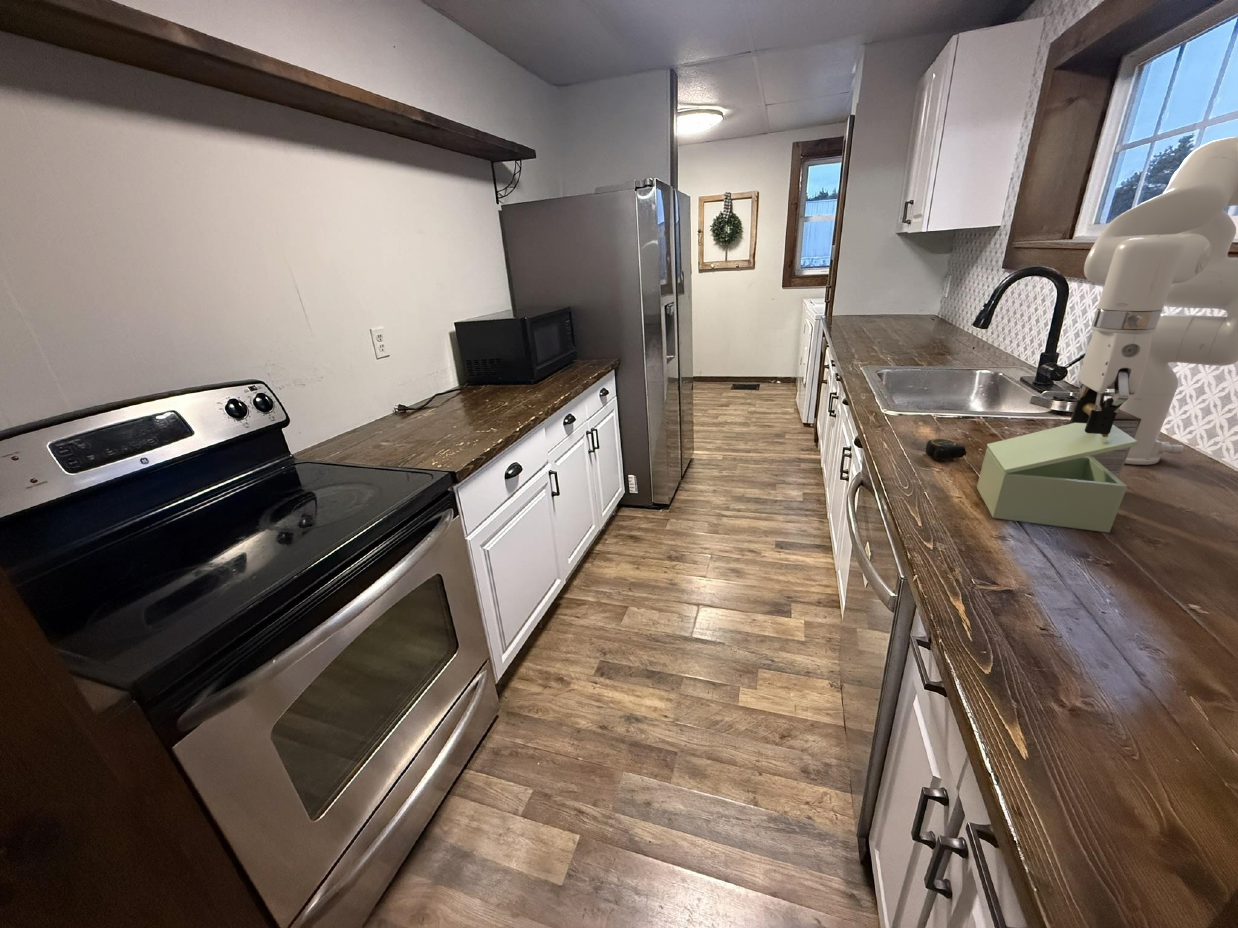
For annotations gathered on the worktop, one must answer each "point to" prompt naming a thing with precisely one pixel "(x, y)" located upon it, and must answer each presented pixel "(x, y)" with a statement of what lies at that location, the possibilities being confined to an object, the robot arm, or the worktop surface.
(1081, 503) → the chest
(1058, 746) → the worktop surface
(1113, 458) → the coffee box
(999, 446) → the lid
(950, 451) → the tape measure
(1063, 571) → the worktop surface
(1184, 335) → the robot arm
